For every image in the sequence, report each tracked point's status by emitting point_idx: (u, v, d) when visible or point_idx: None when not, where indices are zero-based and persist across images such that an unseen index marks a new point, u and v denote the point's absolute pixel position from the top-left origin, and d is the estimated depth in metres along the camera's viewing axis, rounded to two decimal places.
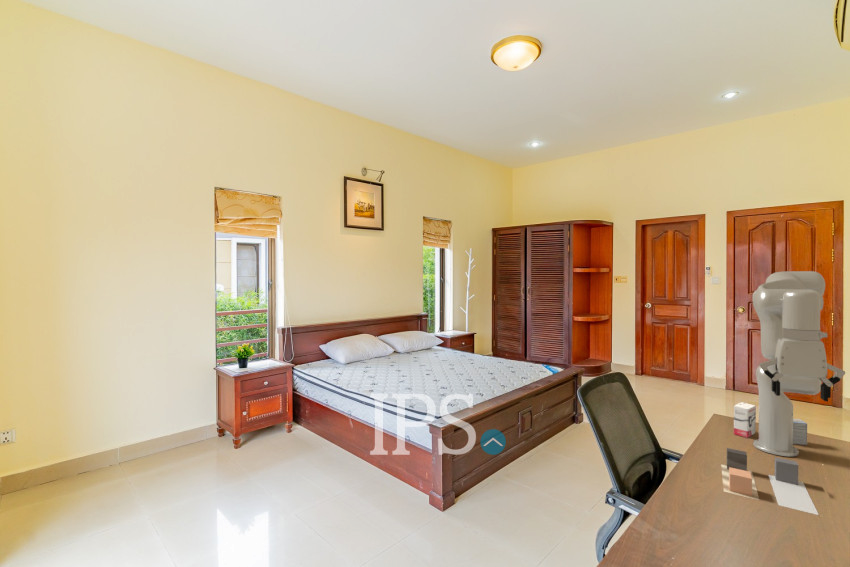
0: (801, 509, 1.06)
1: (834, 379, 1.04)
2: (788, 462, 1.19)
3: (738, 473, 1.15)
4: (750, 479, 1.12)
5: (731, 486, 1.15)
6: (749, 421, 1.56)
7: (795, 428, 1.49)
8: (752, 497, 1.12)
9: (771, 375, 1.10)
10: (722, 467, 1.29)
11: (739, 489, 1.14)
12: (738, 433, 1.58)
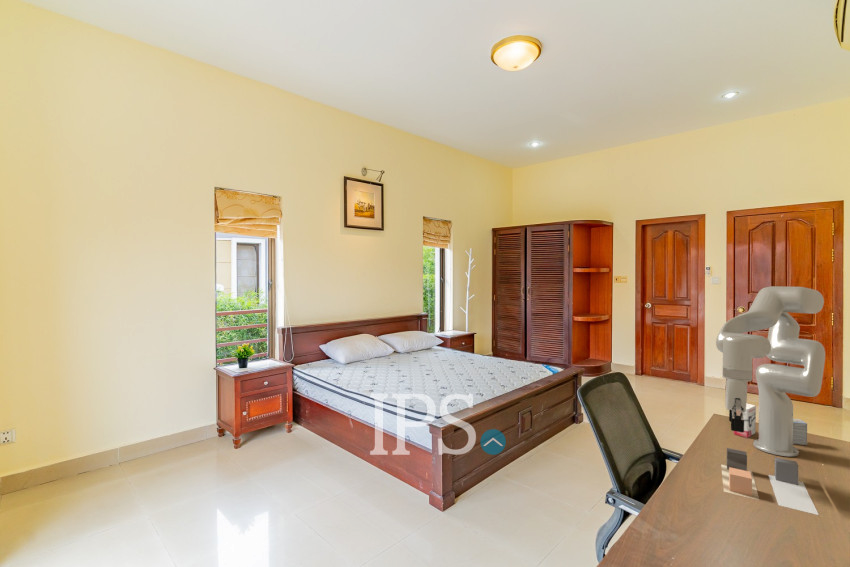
0: (801, 509, 1.06)
1: None
2: (788, 462, 1.19)
3: (738, 473, 1.15)
4: (750, 479, 1.12)
5: (731, 486, 1.15)
6: (749, 421, 1.56)
7: (795, 428, 1.49)
8: (752, 497, 1.12)
9: None
10: (722, 467, 1.29)
11: (739, 489, 1.14)
12: (738, 433, 1.58)
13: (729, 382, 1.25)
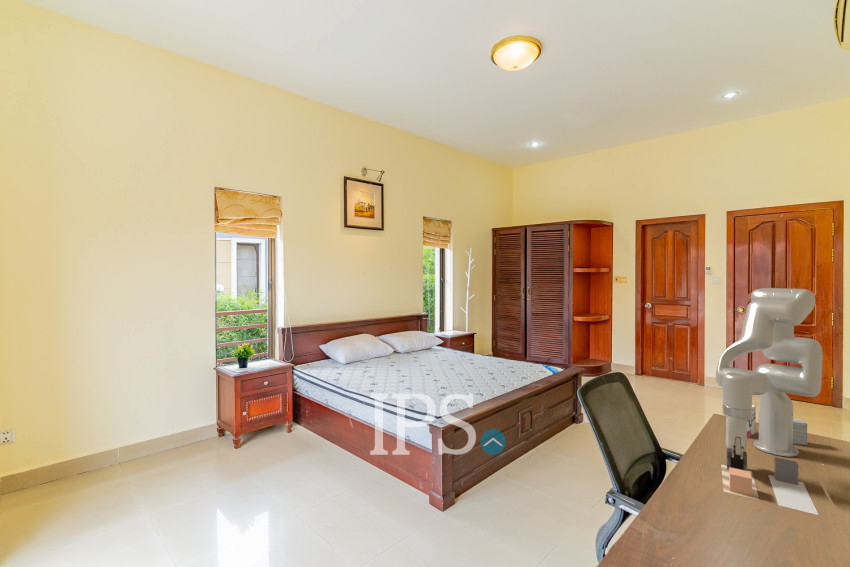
0: (801, 509, 1.06)
1: None
2: (788, 462, 1.19)
3: (738, 473, 1.15)
4: (750, 479, 1.12)
5: (731, 486, 1.15)
6: (749, 421, 1.56)
7: (795, 428, 1.49)
8: (752, 497, 1.12)
9: (740, 457, 1.24)
10: (722, 467, 1.29)
11: (739, 489, 1.14)
12: None
13: (729, 420, 1.25)
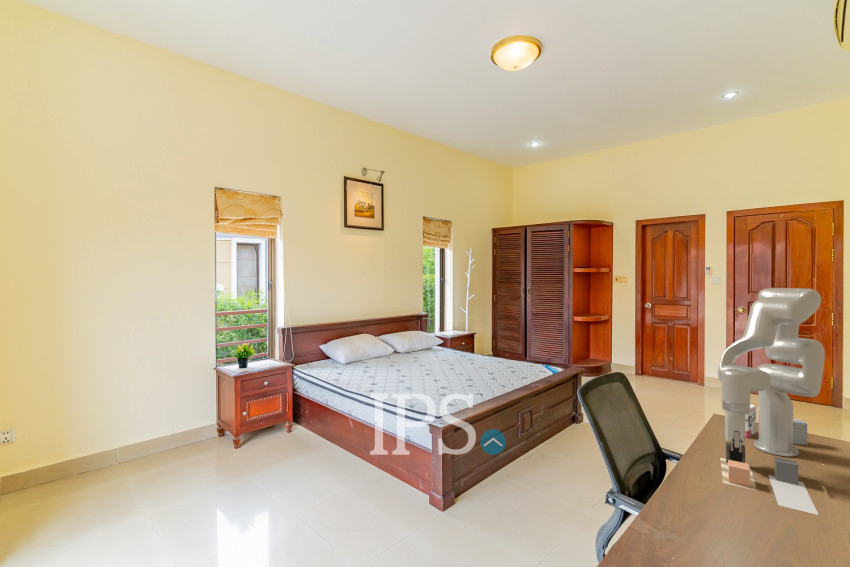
0: (801, 509, 1.06)
1: None
2: (788, 462, 1.19)
3: (737, 465, 1.20)
4: (748, 471, 1.17)
5: (730, 477, 1.20)
6: (749, 421, 1.56)
7: (795, 428, 1.49)
8: (750, 488, 1.16)
9: (739, 450, 1.29)
10: (721, 460, 1.34)
11: (738, 480, 1.19)
12: None
13: (728, 415, 1.30)
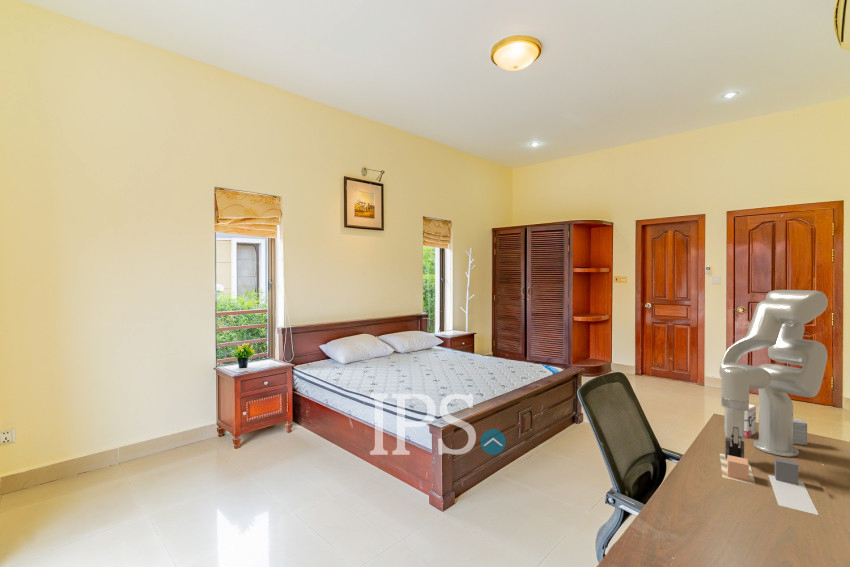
0: (801, 509, 1.06)
1: None
2: (788, 462, 1.19)
3: (736, 460, 1.23)
4: (747, 465, 1.20)
5: (729, 472, 1.23)
6: (749, 421, 1.56)
7: (795, 428, 1.49)
8: (749, 482, 1.20)
9: (738, 446, 1.32)
10: (721, 456, 1.37)
11: (737, 474, 1.22)
12: None
13: (727, 411, 1.33)
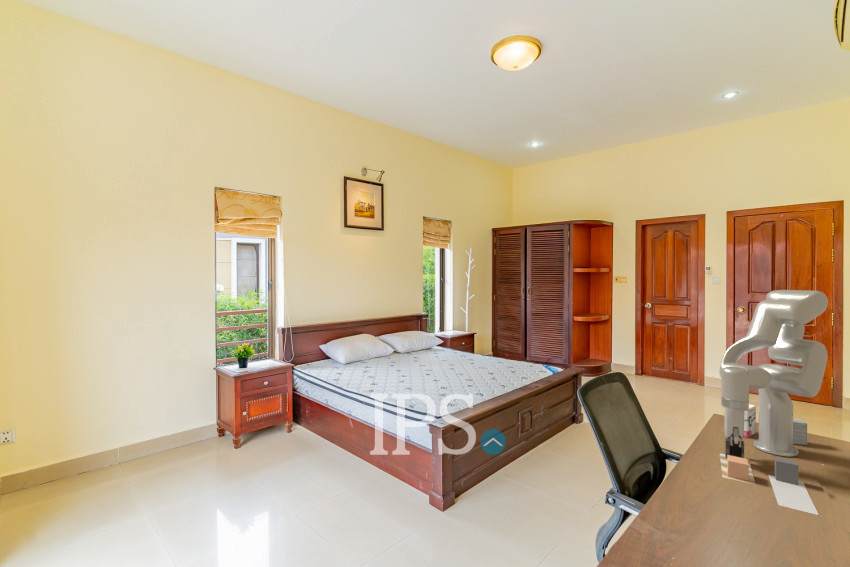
0: (801, 509, 1.06)
1: None
2: (788, 462, 1.19)
3: (736, 460, 1.23)
4: (747, 465, 1.21)
5: (729, 472, 1.23)
6: (749, 421, 1.56)
7: (795, 428, 1.49)
8: (749, 482, 1.20)
9: None
10: (721, 456, 1.37)
11: (737, 474, 1.22)
12: None
13: (727, 411, 1.33)
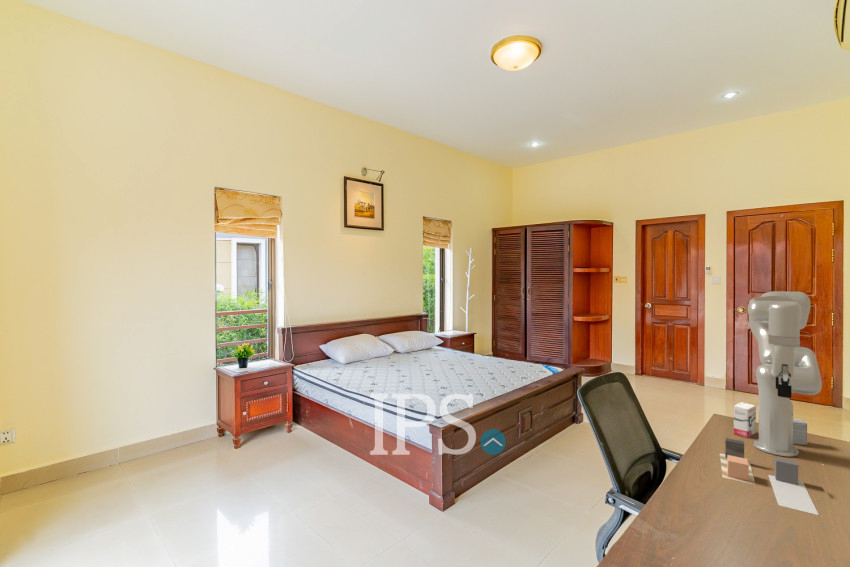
0: (801, 509, 1.06)
1: None
2: (788, 462, 1.19)
3: (736, 460, 1.23)
4: (747, 465, 1.21)
5: (729, 472, 1.23)
6: (749, 421, 1.56)
7: (795, 428, 1.49)
8: (749, 482, 1.20)
9: None
10: (721, 456, 1.37)
11: (737, 474, 1.22)
12: (738, 433, 1.58)
13: (775, 349, 1.25)
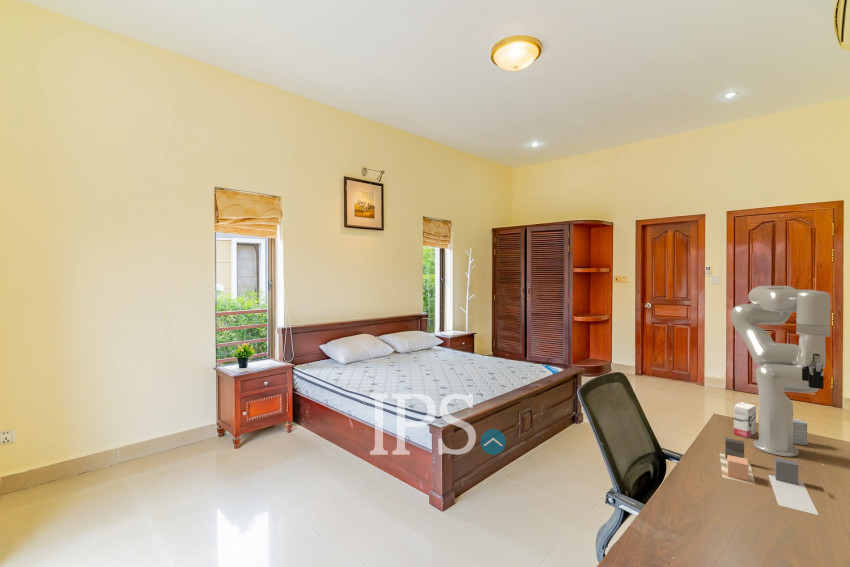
0: (801, 509, 1.06)
1: None
2: (788, 462, 1.19)
3: (736, 460, 1.23)
4: (747, 465, 1.21)
5: (729, 472, 1.23)
6: (749, 421, 1.56)
7: (795, 428, 1.49)
8: (749, 482, 1.20)
9: None
10: (721, 456, 1.37)
11: (737, 474, 1.22)
12: (738, 433, 1.58)
13: (806, 338, 1.21)
